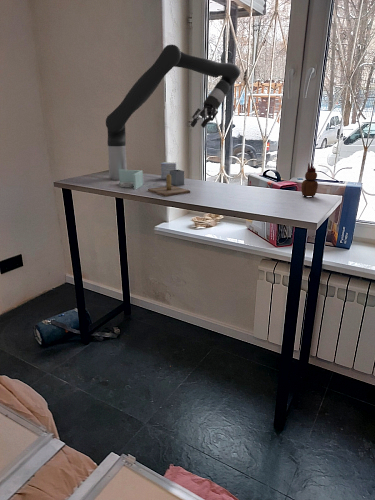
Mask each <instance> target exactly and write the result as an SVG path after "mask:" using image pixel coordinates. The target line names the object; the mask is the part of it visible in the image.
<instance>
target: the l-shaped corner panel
mask: <svg viewBox="0 0 375 500" xmlns="http://www.w3.org/2000/svg"><path fill="white" fill-rule="evenodd" d="M119 178H120V180H119V184H120V187H123V188H131V187H133V186H134V187H133V190H137V189H139V188H140V187H142V186H143V185H144V170H141V169H140V170H138V169H137V170H135V169H127V170H119Z"/></svg>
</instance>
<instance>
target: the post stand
mask: <svg viewBox="0 0 375 500" xmlns="http://www.w3.org/2000/svg"><path fill="white" fill-rule="evenodd" d="M165 180H166V186H165V185H164V186H160V187H159V186H158V187H152V188H148V189H147V191H148V192H149V193H153V194H156V195H159V196H162V197H171V196H177V195H184V194H185V195H186V194H191V189H190V190H189V189H188V188H187V189H186V188H182V187H180V186H173V185H171V175H170V174H168V175H167V176H166V179H165Z"/></svg>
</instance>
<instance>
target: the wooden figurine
mask: <svg viewBox="0 0 375 500" xmlns="http://www.w3.org/2000/svg"><path fill="white" fill-rule="evenodd" d="M304 178H305V180H303V181H302V183H301V187H300V189H301V191H300V192H301V195H302V196H303V195H305V196H314V197H315V196H316V195H317V192H318V186H319V182H318V181H317V178H318V173H317V170H316V167H315V166H314V165H313V163H311V164H310V162H307V171H306V172H305V174H304Z"/></svg>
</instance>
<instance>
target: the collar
mask: <svg viewBox="0 0 375 500" xmlns="http://www.w3.org/2000/svg"><path fill="white" fill-rule="evenodd" d="M170 175H171V186H176V187H180V186H185V170H181V169H177V170H170Z"/></svg>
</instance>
